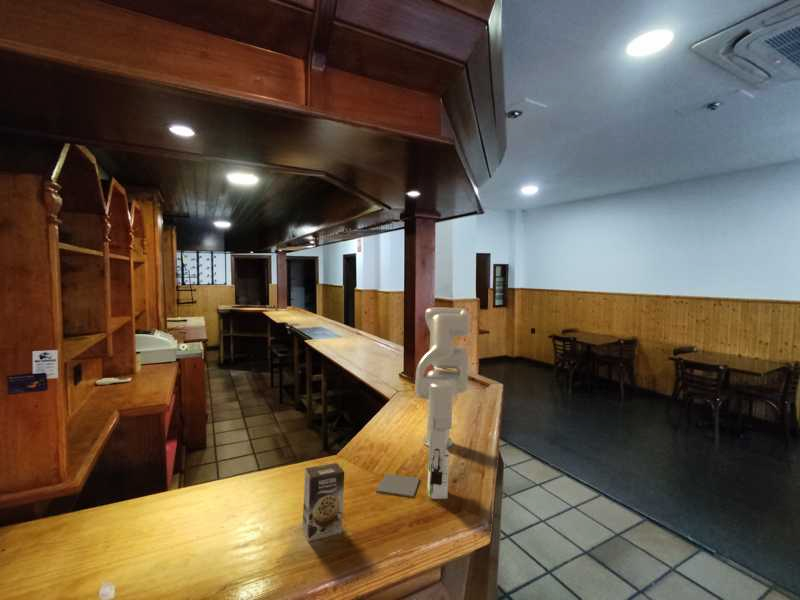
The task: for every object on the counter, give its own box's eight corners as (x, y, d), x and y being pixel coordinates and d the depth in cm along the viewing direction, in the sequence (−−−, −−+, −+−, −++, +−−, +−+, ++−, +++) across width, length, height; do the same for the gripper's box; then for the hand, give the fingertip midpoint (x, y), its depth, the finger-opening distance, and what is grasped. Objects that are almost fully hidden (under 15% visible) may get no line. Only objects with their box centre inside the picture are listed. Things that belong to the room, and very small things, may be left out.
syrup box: (426, 490, 122) (428, 445, 122) (444, 489, 122) (446, 445, 122) (429, 499, 116) (431, 452, 116) (448, 499, 116) (450, 452, 116)
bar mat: (385, 475, 131) (385, 473, 131) (419, 479, 128) (419, 478, 128) (376, 492, 119) (376, 490, 119) (413, 497, 117) (413, 495, 117)
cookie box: (307, 542, 94) (310, 478, 94) (301, 528, 99) (304, 467, 99) (343, 533, 98) (345, 471, 98) (335, 520, 103) (337, 461, 104)
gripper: (431, 413, 128) (429, 465, 128) (423, 429, 111) (421, 490, 111) (453, 415, 127) (452, 468, 127) (449, 432, 110) (447, 493, 110)
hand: (437, 477), depth 119 cm, fingers closed on syrup box, 6 cm apart
